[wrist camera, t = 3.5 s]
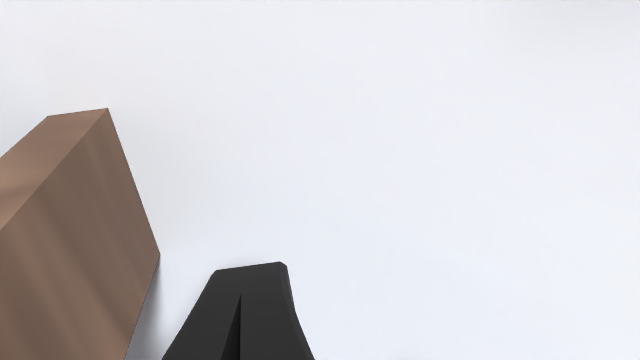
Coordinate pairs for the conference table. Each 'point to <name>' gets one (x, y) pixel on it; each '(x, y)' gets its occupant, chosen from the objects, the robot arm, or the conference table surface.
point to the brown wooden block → (71, 243)
